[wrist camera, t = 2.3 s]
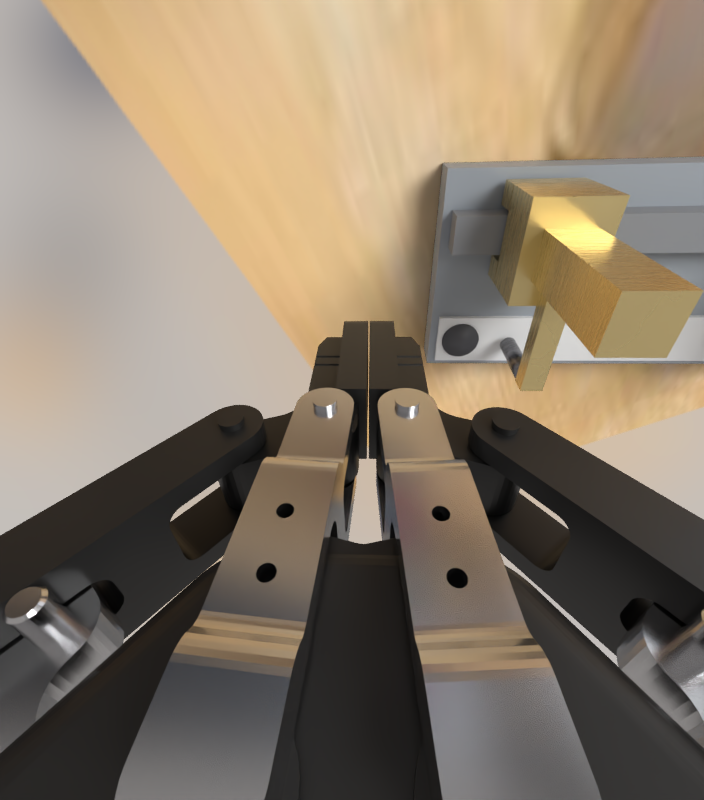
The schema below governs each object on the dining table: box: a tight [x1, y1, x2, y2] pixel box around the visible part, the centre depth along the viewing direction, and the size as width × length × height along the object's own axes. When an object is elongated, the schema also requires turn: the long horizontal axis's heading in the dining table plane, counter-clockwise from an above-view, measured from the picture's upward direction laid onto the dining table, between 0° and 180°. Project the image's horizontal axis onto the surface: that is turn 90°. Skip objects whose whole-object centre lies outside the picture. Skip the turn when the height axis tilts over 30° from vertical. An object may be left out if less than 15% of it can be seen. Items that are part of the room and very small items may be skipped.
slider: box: [488, 177, 704, 391], centre depth 19 cm, size 10×4×11 cm, turn 1°
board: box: [424, 157, 704, 364], centre depth 24 cm, size 12×26×4 cm, turn 91°
